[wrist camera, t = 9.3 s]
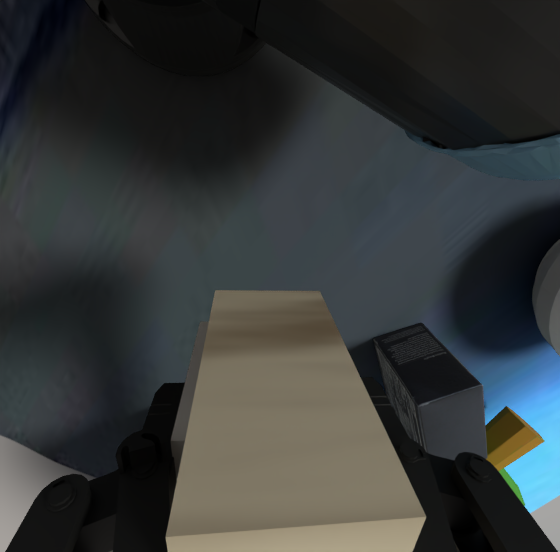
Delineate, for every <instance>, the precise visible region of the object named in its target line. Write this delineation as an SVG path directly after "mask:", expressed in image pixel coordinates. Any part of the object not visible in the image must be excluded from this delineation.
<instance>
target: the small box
mask: <svg viewBox="0 0 560 552" xmlns="http://www.w3.org/2000/svg"><path fill="white" fill-rule="evenodd" d="M373 341H374V345H375V350H376V354H377V358H378V363H379V367H380V371H381V375H382V380H383V384H384V388H385V392H386V395H387V398H388V399H389V401H390V403H391V406H392V407H393V408H394V410H395V412H396V414H397V416H398V418H399V420H400V421H401V423H402V425H403V427H404V429H405V431H406V432H407V434H408V436H409V438H410V439H413V440H414V441H416V442H417V443H419V444H420V445H421V446H422V447H423V448H424V449H425V451H426V452H427V453H429V454H432V455H435V456H439V457H443V458H447V459H451V460H455V458H456V456H457V455H458V454H459V453H462V452H471V453H475V454H477V455H480V456H482V457H483V458H485V459H487V443H486V429H485V413H484V396H483V385H482V384H481V383H480V382H479V381H478V380H477V379H476V378H475V377H474V376H473V375H472V374H471V373H470V372H469V371H468V370H467V369H466V368H465V367H464V366H463V365H462V364H461V363H460V362H459V361H458V360H457V358H456V357H455V356H454V355H453V354H452V353H451V352H450V351H449V350H448V349H447V348H446V347H445V346H444V345H443V344H442V343H441V342H440V341H439V340H438V339H437V338H436V337H435V336H434V335H433V334H432V332H431V331H430V330H429V329H428V328H427V327H426V326H425V325H424V324H423V323H419V324H416V325H413V326H410V327H407V328H404V329H400V330H397V331H394V332H391V333H388V334H385V335H382V336H379V337H376V338H374V339H373Z"/></svg>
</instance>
